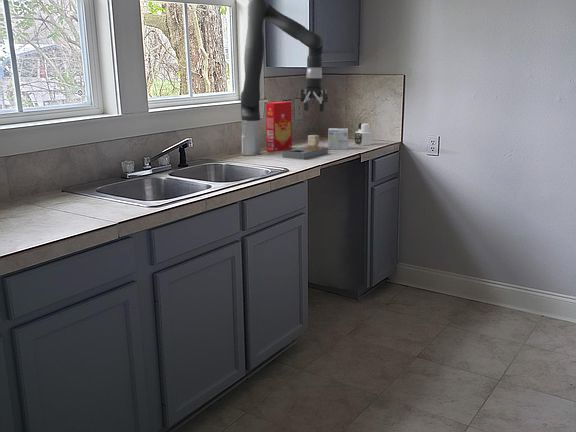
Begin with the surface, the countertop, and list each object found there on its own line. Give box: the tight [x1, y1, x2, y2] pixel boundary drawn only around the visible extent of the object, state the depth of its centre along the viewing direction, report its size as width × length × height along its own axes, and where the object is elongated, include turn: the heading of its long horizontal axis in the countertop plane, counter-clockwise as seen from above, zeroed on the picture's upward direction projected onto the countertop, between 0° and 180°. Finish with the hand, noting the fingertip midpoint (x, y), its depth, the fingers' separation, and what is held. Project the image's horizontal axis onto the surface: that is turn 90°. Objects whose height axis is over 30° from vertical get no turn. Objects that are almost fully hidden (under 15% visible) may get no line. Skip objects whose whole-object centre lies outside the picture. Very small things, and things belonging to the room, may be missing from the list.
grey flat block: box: [282, 145, 329, 161], centre depth 287 cm, size 22×12×4 cm, turn 145°
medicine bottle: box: [354, 122, 373, 146], centre depth 329 cm, size 7×7×12 cm
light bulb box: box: [327, 127, 349, 150], centre depth 314 cm, size 11×7×11 cm, turn 84°
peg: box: [307, 134, 320, 148], centre depth 292 cm, size 4×4×9 cm
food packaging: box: [265, 101, 293, 153], centre depth 307 cm, size 15×5×25 cm, turn 143°
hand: (313, 111), depth 288 cm, fingers open, 8 cm apart
